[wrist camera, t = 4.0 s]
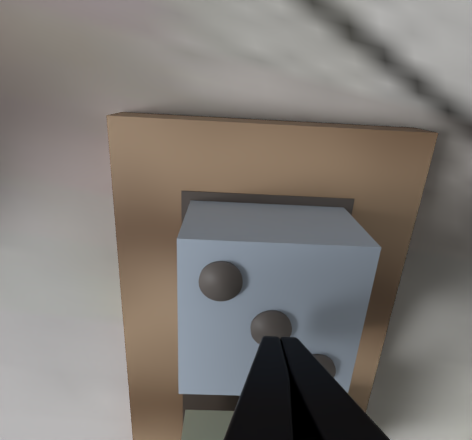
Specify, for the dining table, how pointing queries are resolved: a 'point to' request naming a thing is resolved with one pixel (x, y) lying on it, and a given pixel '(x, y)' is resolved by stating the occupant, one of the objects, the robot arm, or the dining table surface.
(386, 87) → the dining table surface
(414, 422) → the dining table surface
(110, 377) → the dining table surface
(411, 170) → the wooden plank tray
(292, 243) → the tile three
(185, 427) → the tile two
